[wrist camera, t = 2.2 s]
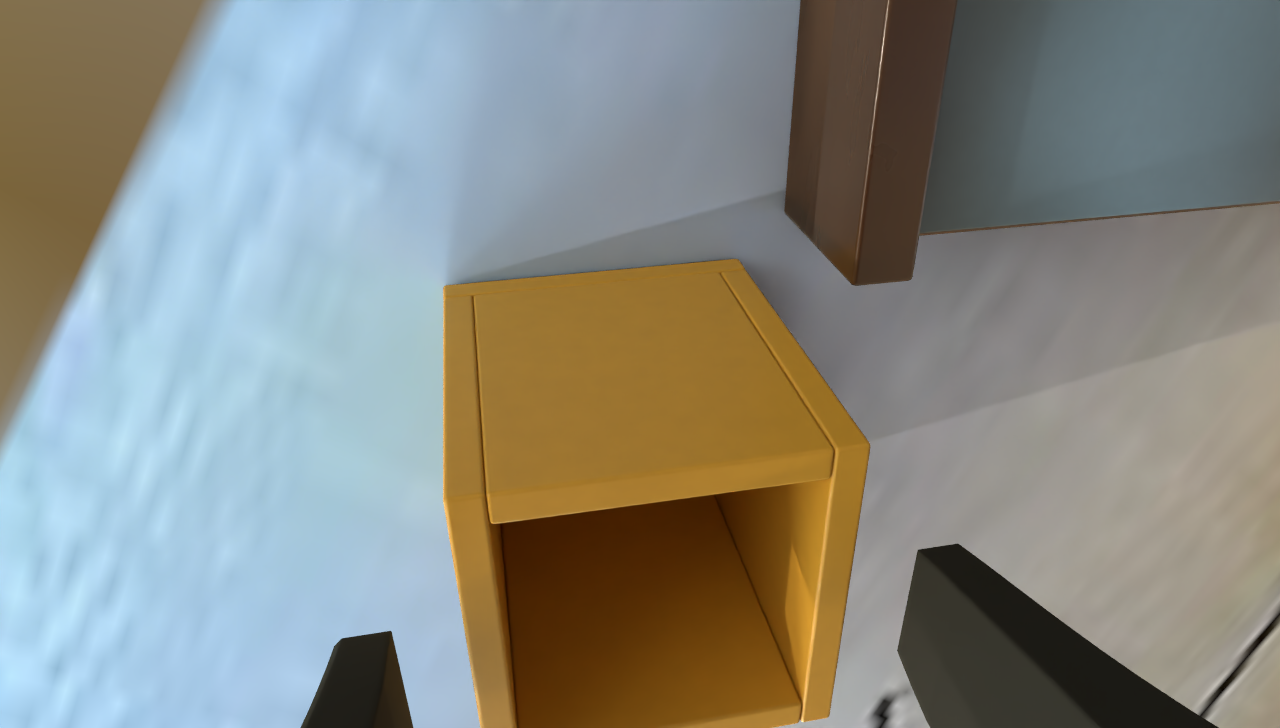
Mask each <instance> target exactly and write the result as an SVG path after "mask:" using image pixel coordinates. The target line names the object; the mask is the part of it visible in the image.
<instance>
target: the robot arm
mask: <svg viewBox="0 0 1280 728" xmlns="http://www.w3.org/2000/svg"><path fill="white" fill-rule="evenodd" d="M897 651H898V654H899V656H900V659H901V661H902V664H903V666H904V669H905V671H906V674H907V676H908V678H909V681H910V683H911V686H912V688H913V691H914V693H915V695H916V698H917V700H918V702H919V704H920V707H921V709H922V711H923V714H924V716H925V718H926V720H927V722H928V724H929V726H930V728H1218V727H1217V726H1215V725H1213V724H1212V723H1210V722H1209V721H1207V720H1205V719H1204V718H1202V717H1200V716H1199V715H1197V714H1196V713H1194V712H1192V711H1191V710H1189V709H1188V708H1186V707H1185V706H1183V705H1182V704H1180V703H1179V702H1177V701H1175V700H1174V699H1172V698H1171V697H1169V696H1168V695H1166V694H1165V693H1163V692H1162V691H1160V690H1159V689H1157V688H1156V687H1154V686H1153V685H1151V684H1150V683H1148V682H1147V681H1145V680H1144V679H1142V678H1141V677H1139V676H1138V675H1136V674H1135V673H1133V672H1132V671H1130V670H1129V669H1127V668H1126V667H1125V666H1123V665H1122V664H1120V663H1119V662H1117V661H1116V660H1114V659H1113V658H1112V657H1110V656H1109V655H1107V654H1106V653H1105V652H1103V651H1102V650H1100V649H1099V648H1098V647H1096V646H1095V645H1093V644H1092V643H1091V642H1089V641H1088V640H1086V639H1085V638H1084V637H1082V636H1081V635H1080V634H1078V633H1077V632H1075V631H1074V630H1073V629H1071V628H1070V627H1069V626H1067V625H1066V624H1065V623H1063V622H1062V621H1061V620H1059V619H1058V618H1056V617H1055V616H1054V615H1052V614H1051V613H1050V612H1048V611H1047V610H1046V609H1044V608H1043V607H1042V606H1040V605H1039V604H1038V603H1036V602H1035V601H1034V600H1033V599H1031V598H1030V597H1029V596H1027V595H1026V594H1025V593H1023V592H1022V591H1021V590H1019V589H1018V588H1017V587H1015V586H1014V585H1013V584H1011V583H1010V582H1009V581H1007V580H1006V579H1005V578H1004V577H1002V576H1001V575H1000V574H998V573H997V572H996V571H994V570H993V569H992V568H990V567H989V566H988V565H986V564H985V563H984V562H982V561H981V560H980V559H978V558H977V557H976V556H974V555H973V554H972V553H970V552H969V551H967V550H966V549H965V548H963V547H962V546H961V545H959V544H953V545H946V546H940V547H933V548H927V549H920V550H918V552H917V557H916V562H915V566H914V571H913V576H912V581H911V586H910V591H909V596H908V601H907V606H906V611H905V616H904V621H903V626H902V630H901V635H900V640H899V645H898V650H897ZM301 728H413V725H412V720H411V716H410V711H409V707H408V703H407V698H406V694H405V689H404V685H403V680H402V676H401V672H400V667H399V663H398V658H397V654H396V650H395V645H394V641H393V636H392V632H391V631H387V632H381V633H374V634H368V635H362V636H355V637H349V638H342V639H341V640H340V641H339V642H338V643H337V644H336V645H335V646H334V649H333V651H332V654H331V657H330V660H329V662H328V665H327V668H326V670H325V673H324V675H323V678H322V680H321V683H320V685H319V687H318V690H317V692H316V695H315V697H314V699H313V702H312V704H311V706H310V708H309V711H308V713H307V715H306V717H305V720H304V722H303V724H302V726H301Z"/></svg>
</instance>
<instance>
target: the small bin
mask: <svg viewBox="0 0 1280 728" xmlns="http://www.w3.org/2000/svg"><path fill="white" fill-rule="evenodd" d="M443 299H444V333H443V502H444V508H445V514H446V520H447V527H448V533H449V539H450V545H451V551H452V557H453V563H454V569H455V575H456V581H457V587H458V593H459V599H460V606H461V612H462V618H463V624H464V630H465V636H466V642H467V648H468V654H469V660H470V666H471V672H472V679H473V685H474V691H475V697H476V703H477V709H478V715H479V721H480V727H481V728H773V727H779V726H784V725H790V724H795V723H798V722H799V720H801V721H802V722H806V721H812V720H817V719H823V718H827V717H829V714H830V708H831V701H832V695H833V688H834V682H835V675H836V668H837V662H838V655H839V649H840V642H841V636H842V629H843V623H844V616H845V610H846V603H847V597H848V590H849V584H850V577H851V571H852V564H853V558H854V551H855V545H856V538H857V532H858V525H859V518H860V512H861V505H862V499H863V492H864V486H865V479H866V473H867V466H868V460H869V453H870V443H869V442H868V440H867V439H866V437H865V436H864V435H863V433H862V432H861V430H860V429H859V428H858V426H857V425H856V423H855V422H854V421H853V419H852V418H851V416H850V415H849V414H848V412H847V411H846V410H845V408H844V407H843V405H842V404H841V403H840V401H839V400H838V398H837V397H836V396H835V394H834V393H833V391H832V390H831V389H830V387H829V386H828V384H827V383H826V382H825V380H824V379H823V377H822V376H821V375H820V373H819V372H818V370H817V369H816V368H815V366H814V365H813V363H812V362H811V361H810V359H809V358H808V356H807V355H806V354H805V352H804V351H803V349H802V348H801V347H800V345H799V344H798V342H797V341H796V340H795V338H794V337H793V335H792V334H791V333H790V331H789V330H788V328H787V327H786V326H785V324H784V323H783V321H782V320H781V319H780V317H779V316H778V314H777V313H776V312H775V310H774V309H773V307H772V306H771V305H770V303H769V302H768V300H767V299H766V298H765V296H764V295H763V293H762V292H761V291H760V289H759V288H758V286H757V285H756V284H755V282H754V281H753V280H752V278H751V277H750V275H749V274H748V273H747V271H745V268H744V267H743V265H742V264H741V262H740V261H739V260H738V259H729V260H718V261H707V262H696V263H685V264H674V265H663V266H652V267H641V268H631V269H620V270H609V271H598V272H587V273H576V274H565V275H554V276H543V277H533V278H522V279H511V280H500V281H489V282H478V283H467V284H456V285H446V286H444V288H443Z"/></svg>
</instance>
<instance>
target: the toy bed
mask: <svg viewBox="0 0 1280 728" xmlns="http://www.w3.org/2000/svg"><path fill="white" fill-rule="evenodd" d="M1275 203H1280V0H801V3H800V16H799V29H798V42H797V55H796V68H795V81H794V94H793V107H792V119H791V132H790V145H789V158H788V171H787V184H786V197H785V210H784V211H785V214H786V215H787V216H788V217H789V218H790V219H791V220H792V221H793V222H794V223H795V224H796V225H797V226H798V228H799V229H800V230H801V231H802V232H803V233H804V234H805V235H806V236H807V237H808V238H809V239H810V240H811V241H812V243H813V244H814V245H815V246H816V247H817V248H818V249H819V250H820V251H821V252H822V253H823V254H824V255H825V256H826V258H827V259H828V260H829V261H830V262H831V263H832V264H833V265H834V266H835V267H836V268H837V269H838V270H839V271H840V273H841V274H842V275H843V276H844V277H845V278H846V279H847V280H848V281H849V282H850V283H851V284H852V285H855V286H859V285H869V284H879V283H889V282H899V281H909V280H911V279H912V276H913V270H914V264H915V258H916V252H917V246H918V240H919V236H922V235H933V234H944V233H955V232H966V231H977V230H988V229H999V228H1010V227H1021V226H1032V225H1043V224H1054V223H1065V222H1076V221H1087V220H1098V219H1109V218H1120V217H1132V216H1143V215H1154V214H1165V213H1176V212H1187V211H1198V210H1209V209H1220V208H1231V207H1242V206H1253V205H1264V204H1275Z"/></svg>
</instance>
